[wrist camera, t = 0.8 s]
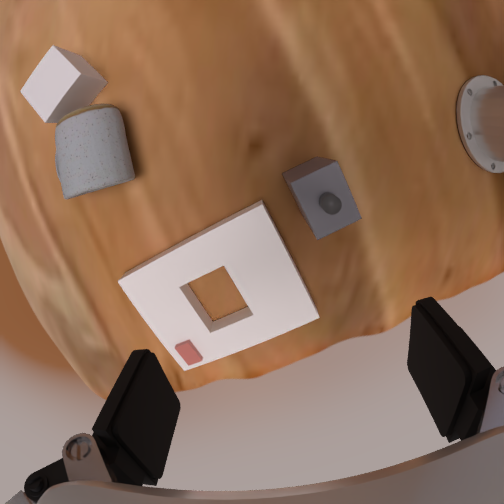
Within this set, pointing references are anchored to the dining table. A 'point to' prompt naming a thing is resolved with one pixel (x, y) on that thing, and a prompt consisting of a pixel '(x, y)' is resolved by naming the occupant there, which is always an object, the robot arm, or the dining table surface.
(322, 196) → the plug
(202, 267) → the socket plate
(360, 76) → the dining table surface
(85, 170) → the ceramic mug
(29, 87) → the light grey cube
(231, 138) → the dining table surface
